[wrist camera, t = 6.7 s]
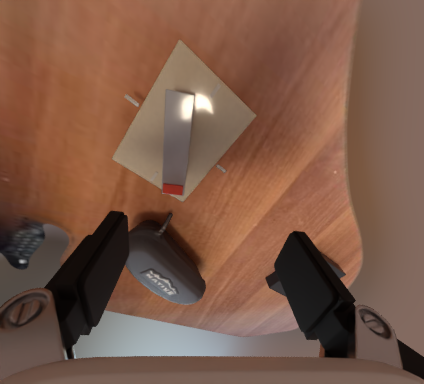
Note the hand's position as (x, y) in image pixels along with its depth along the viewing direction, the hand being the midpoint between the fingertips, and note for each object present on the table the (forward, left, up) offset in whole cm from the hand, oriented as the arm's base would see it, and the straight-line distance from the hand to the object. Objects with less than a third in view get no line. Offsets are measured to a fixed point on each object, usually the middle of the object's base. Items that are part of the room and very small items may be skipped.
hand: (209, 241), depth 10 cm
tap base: (-1, -4, -16) cm, 16 cm away
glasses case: (+17, +6, -16) cm, 24 cm away
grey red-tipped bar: (-1, -4, -13) cm, 13 cm away
